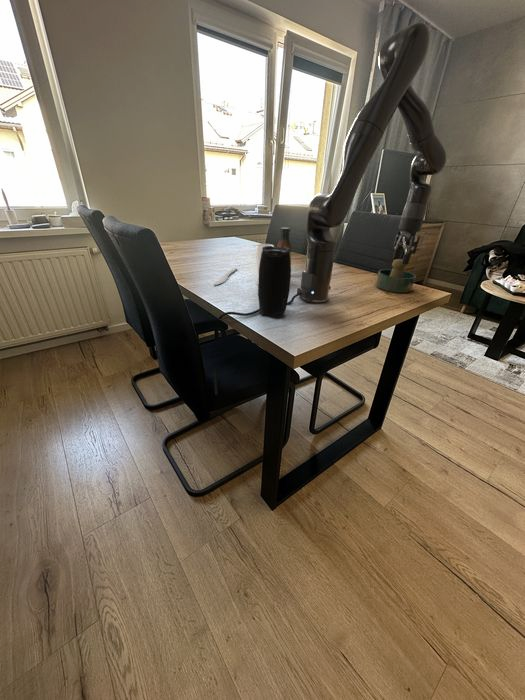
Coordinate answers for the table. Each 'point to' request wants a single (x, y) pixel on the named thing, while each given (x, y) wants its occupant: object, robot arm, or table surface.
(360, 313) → the table surface
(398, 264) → the cork
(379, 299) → the table surface
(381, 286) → the teal shallow bowl
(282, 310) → the portable speaker
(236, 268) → the butter knife
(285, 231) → the sauce bottle
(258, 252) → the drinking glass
